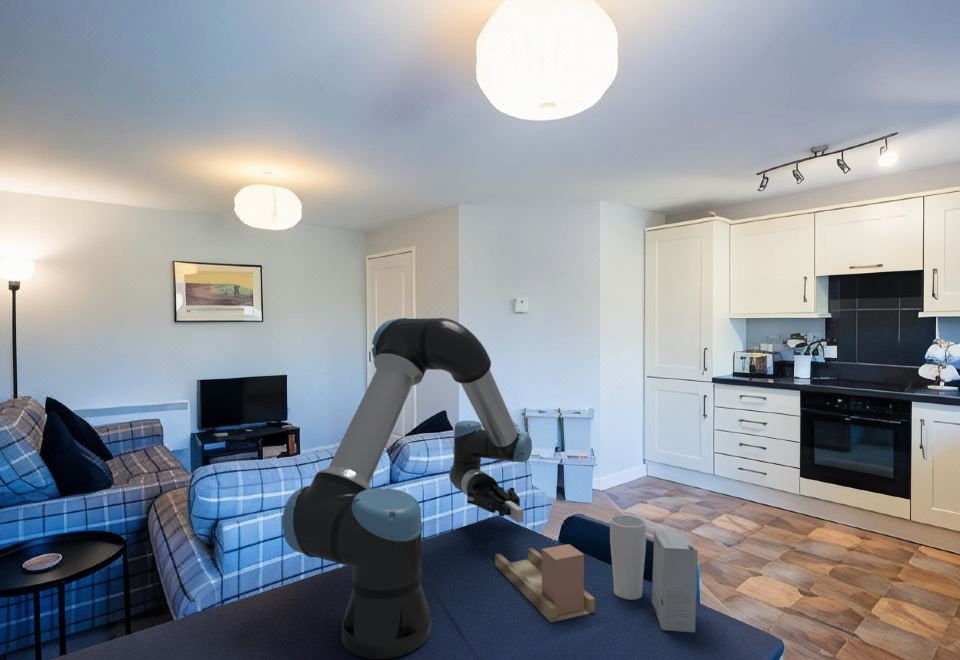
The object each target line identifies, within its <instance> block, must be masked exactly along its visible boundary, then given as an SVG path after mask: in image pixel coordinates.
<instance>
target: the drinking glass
mask: <svg viewBox="0 0 960 660" xmlns="http://www.w3.org/2000/svg"><path fill="white" fill-rule="evenodd" d="M646 528H647V526H646V521H645V520H644V519H642V518H640V517H638V516H634V515H629V514H628V515H627V514H626V515H625V514H620V515H619V514H618V515H617V514H616V515H614V516H612V517H610V523H609V542H610V556H611V565H612V576H613V577H612V578H613V579H612V581H613V593H614V594H615V595H616V597H619V598H621V599H625V600H638V599H641V598H642V596H643V584H644V581H643V580H644V571H645V560H646V559H645V558H646V547H647V529H646Z"/></svg>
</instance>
